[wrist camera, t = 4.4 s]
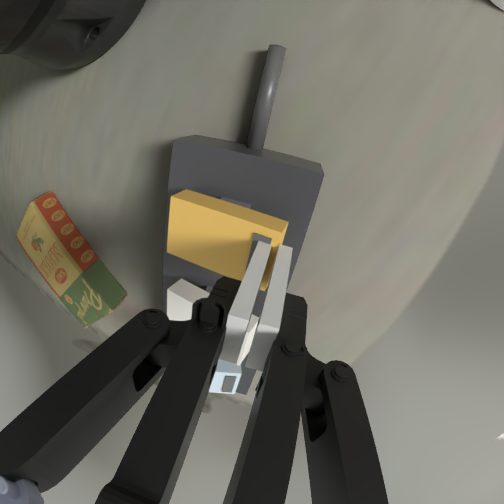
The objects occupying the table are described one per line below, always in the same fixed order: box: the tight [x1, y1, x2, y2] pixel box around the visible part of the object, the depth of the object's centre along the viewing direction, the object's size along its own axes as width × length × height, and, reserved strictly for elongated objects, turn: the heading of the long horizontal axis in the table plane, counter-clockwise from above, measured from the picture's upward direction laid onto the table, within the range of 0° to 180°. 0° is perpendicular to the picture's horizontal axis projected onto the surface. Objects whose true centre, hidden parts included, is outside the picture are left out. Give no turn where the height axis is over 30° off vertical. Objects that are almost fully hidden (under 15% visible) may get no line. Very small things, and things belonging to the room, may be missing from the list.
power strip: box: [162, 45, 324, 395], centre depth 22 cm, size 10×33×5 cm, turn 168°
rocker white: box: [167, 278, 259, 366], centre depth 21 cm, size 7×4×2 cm, turn 78°
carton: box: [16, 190, 127, 329], centre depth 28 cm, size 8×16×4 cm, turn 35°
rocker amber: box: [167, 189, 289, 291], centre depth 17 cm, size 7×4×2 cm, turn 78°
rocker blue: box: [209, 357, 242, 394], centre depth 24 cm, size 7×4×2 cm, turn 78°
